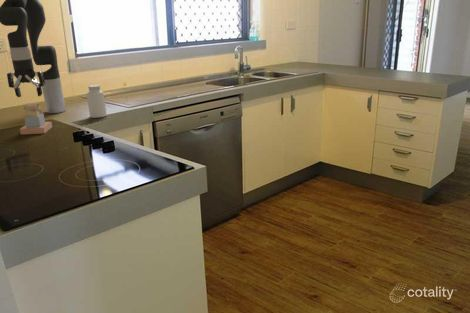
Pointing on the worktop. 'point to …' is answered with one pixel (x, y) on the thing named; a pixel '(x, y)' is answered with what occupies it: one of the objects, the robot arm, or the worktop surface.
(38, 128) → the tile base
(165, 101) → the worktop surface
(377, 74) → the worktop surface
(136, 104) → the worktop surface
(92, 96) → the pill bottle
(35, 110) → the oak block
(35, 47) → the robot arm
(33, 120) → the blue block
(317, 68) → the worktop surface
